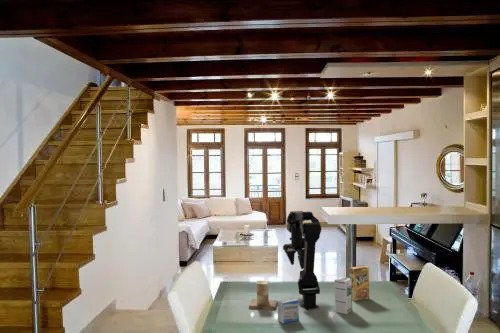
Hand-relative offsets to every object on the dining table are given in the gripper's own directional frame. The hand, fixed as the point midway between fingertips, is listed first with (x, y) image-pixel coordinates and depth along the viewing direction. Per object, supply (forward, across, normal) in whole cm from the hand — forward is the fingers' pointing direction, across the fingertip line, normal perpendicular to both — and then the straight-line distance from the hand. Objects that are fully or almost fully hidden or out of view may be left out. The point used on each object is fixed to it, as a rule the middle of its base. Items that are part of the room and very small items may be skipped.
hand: (297, 266), depth 220 cm
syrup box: (+13, -32, -4) cm, 35 cm away
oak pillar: (+12, -9, +24) cm, 28 cm away
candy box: (+13, -22, -21) cm, 33 cm away
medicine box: (+13, -30, +23) cm, 40 cm away
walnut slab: (+14, -9, +24) cm, 29 cm away
